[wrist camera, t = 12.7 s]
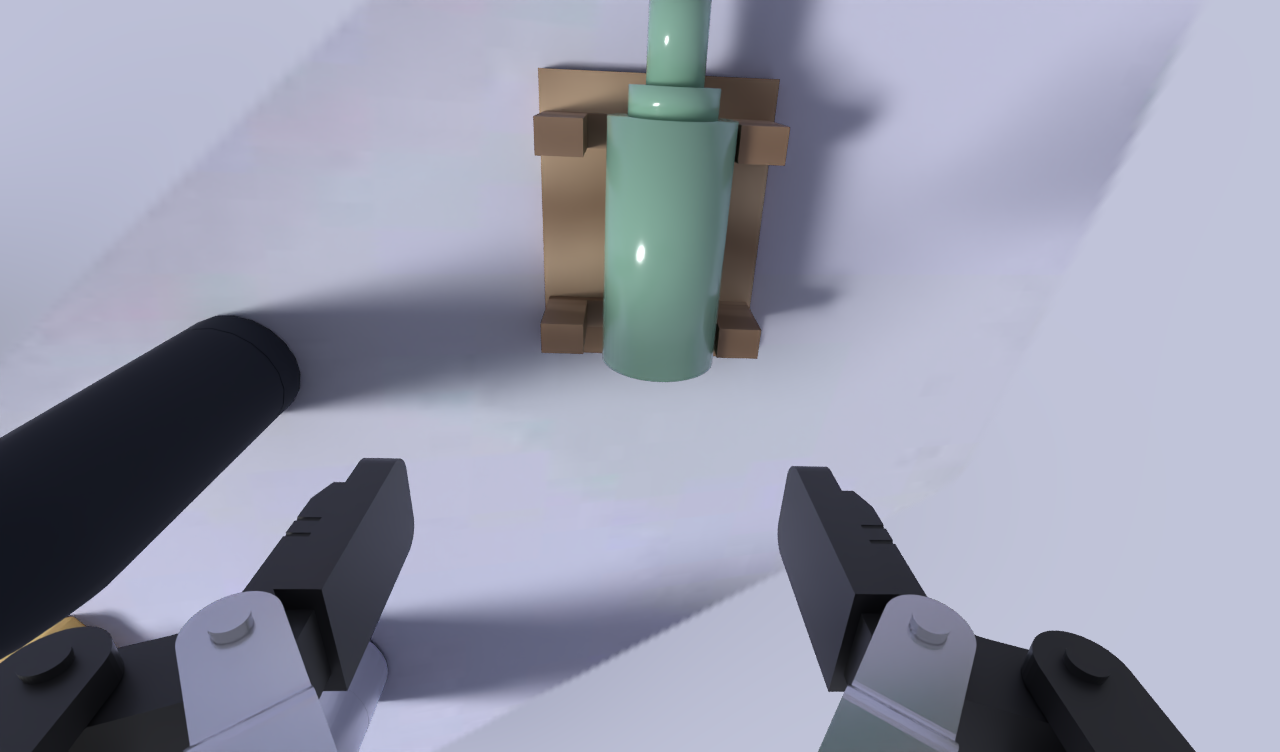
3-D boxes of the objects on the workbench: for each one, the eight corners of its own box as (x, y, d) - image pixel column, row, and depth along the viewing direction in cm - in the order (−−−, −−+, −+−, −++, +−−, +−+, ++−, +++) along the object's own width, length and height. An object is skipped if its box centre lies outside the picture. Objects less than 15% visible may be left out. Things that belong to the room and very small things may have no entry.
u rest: (740, 349, 35) (757, 390, 30) (548, 344, 34) (537, 384, 30) (774, 79, 28) (803, 80, 24) (540, 68, 28) (525, 67, 23)
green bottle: (697, 334, 33) (725, 380, 28) (597, 336, 32) (608, 383, 27) (731, -22, 25) (778, -44, 21) (602, -32, 25) (620, -57, 20)
